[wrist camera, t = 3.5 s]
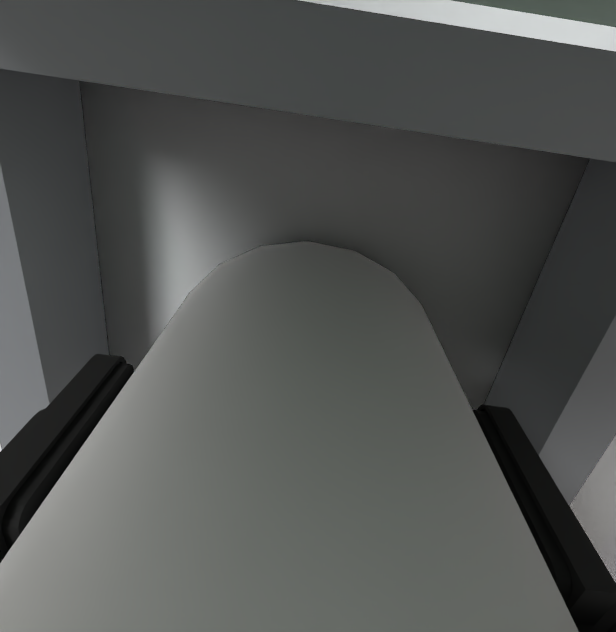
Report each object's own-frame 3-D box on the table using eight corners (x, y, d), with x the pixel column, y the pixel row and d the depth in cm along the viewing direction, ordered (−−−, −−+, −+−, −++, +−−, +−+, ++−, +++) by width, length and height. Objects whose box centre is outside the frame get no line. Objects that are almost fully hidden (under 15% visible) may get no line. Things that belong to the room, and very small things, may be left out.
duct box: (-4, -19, 9) (-151, -72, 6) (689, 92, 9) (842, 88, 6) (86, 496, 16) (38, 576, 13) (463, 542, 16) (490, 626, 14)
